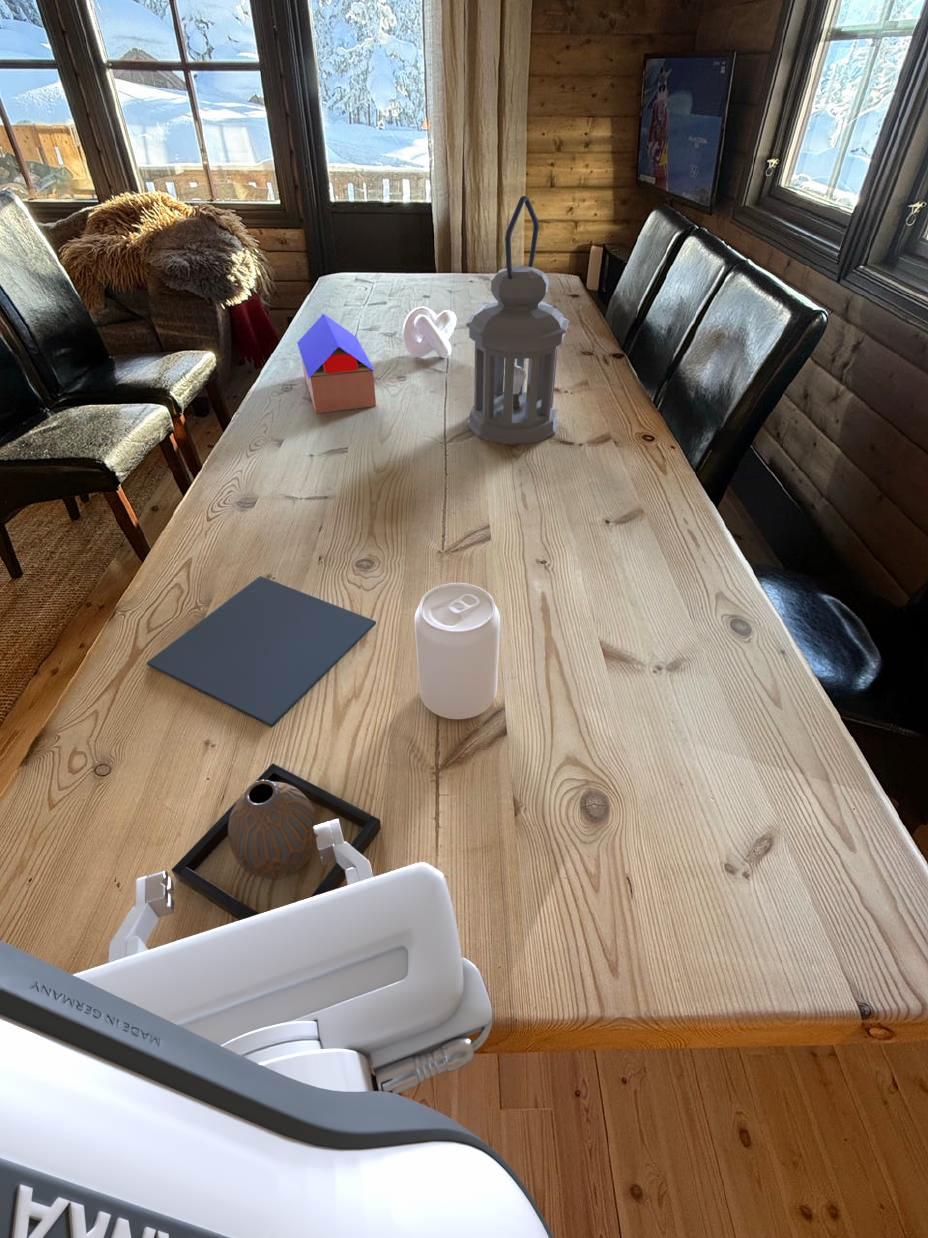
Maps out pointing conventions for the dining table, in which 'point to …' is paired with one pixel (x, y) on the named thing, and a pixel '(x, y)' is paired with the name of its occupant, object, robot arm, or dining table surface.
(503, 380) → the lantern
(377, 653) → the dining table surface
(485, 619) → the beverage can
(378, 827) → the black open square frame
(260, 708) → the mat
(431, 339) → the white knot sculpture
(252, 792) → the vase
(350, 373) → the house
